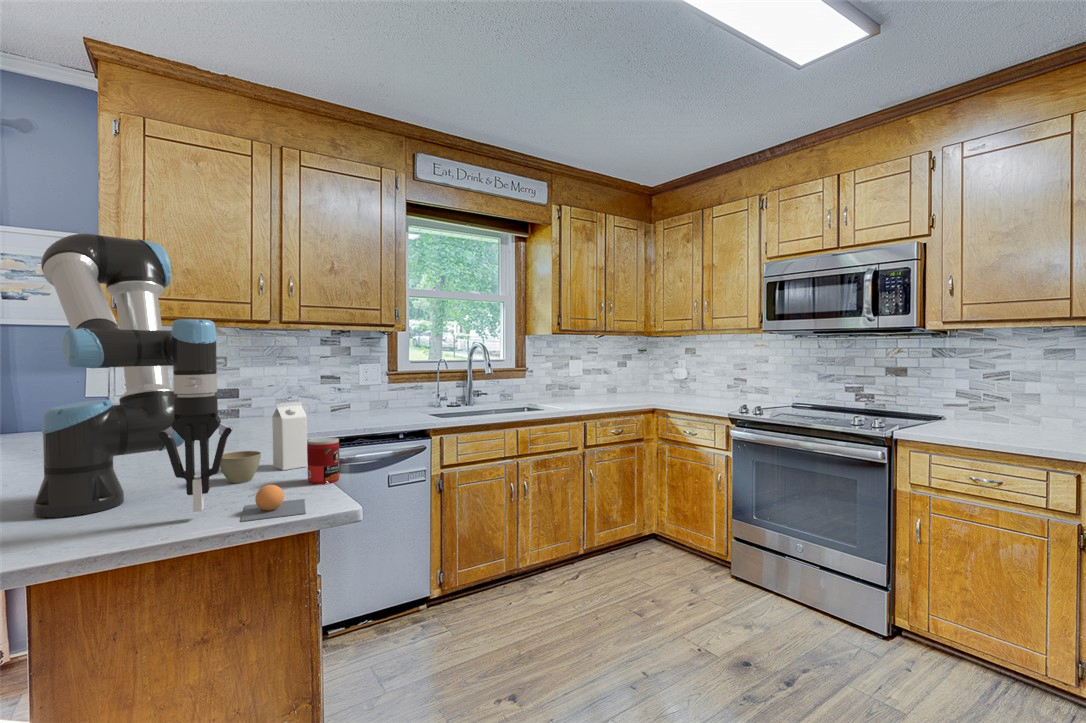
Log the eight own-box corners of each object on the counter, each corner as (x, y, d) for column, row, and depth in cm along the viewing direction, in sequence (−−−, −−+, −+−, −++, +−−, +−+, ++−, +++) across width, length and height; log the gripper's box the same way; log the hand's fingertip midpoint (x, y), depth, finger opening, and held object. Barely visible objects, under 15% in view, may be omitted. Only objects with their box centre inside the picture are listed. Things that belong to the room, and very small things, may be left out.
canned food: (329, 485, 138) (328, 442, 138) (301, 484, 140) (300, 441, 140) (345, 478, 146) (345, 437, 146) (319, 477, 147) (318, 436, 147)
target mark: (240, 521, 109) (240, 520, 109) (245, 506, 120) (245, 505, 120) (305, 513, 114) (305, 512, 114) (304, 499, 125) (304, 498, 125)
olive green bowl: (209, 485, 139) (208, 457, 139) (237, 476, 149) (236, 450, 149) (243, 486, 138) (243, 458, 138) (269, 477, 148) (269, 451, 147)
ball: (268, 519, 115) (249, 502, 113) (267, 511, 119) (249, 494, 118) (290, 500, 116) (271, 483, 115) (288, 493, 121) (271, 476, 119)
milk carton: (273, 467, 160) (271, 403, 160) (297, 463, 165) (296, 401, 165) (283, 470, 155) (281, 404, 155) (307, 466, 161) (306, 402, 160)
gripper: (153, 398, 105) (156, 519, 105) (230, 395, 110) (233, 510, 111) (161, 395, 112) (164, 509, 112) (234, 392, 117) (236, 501, 118)
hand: (198, 509), depth 111 cm, fingers closed
